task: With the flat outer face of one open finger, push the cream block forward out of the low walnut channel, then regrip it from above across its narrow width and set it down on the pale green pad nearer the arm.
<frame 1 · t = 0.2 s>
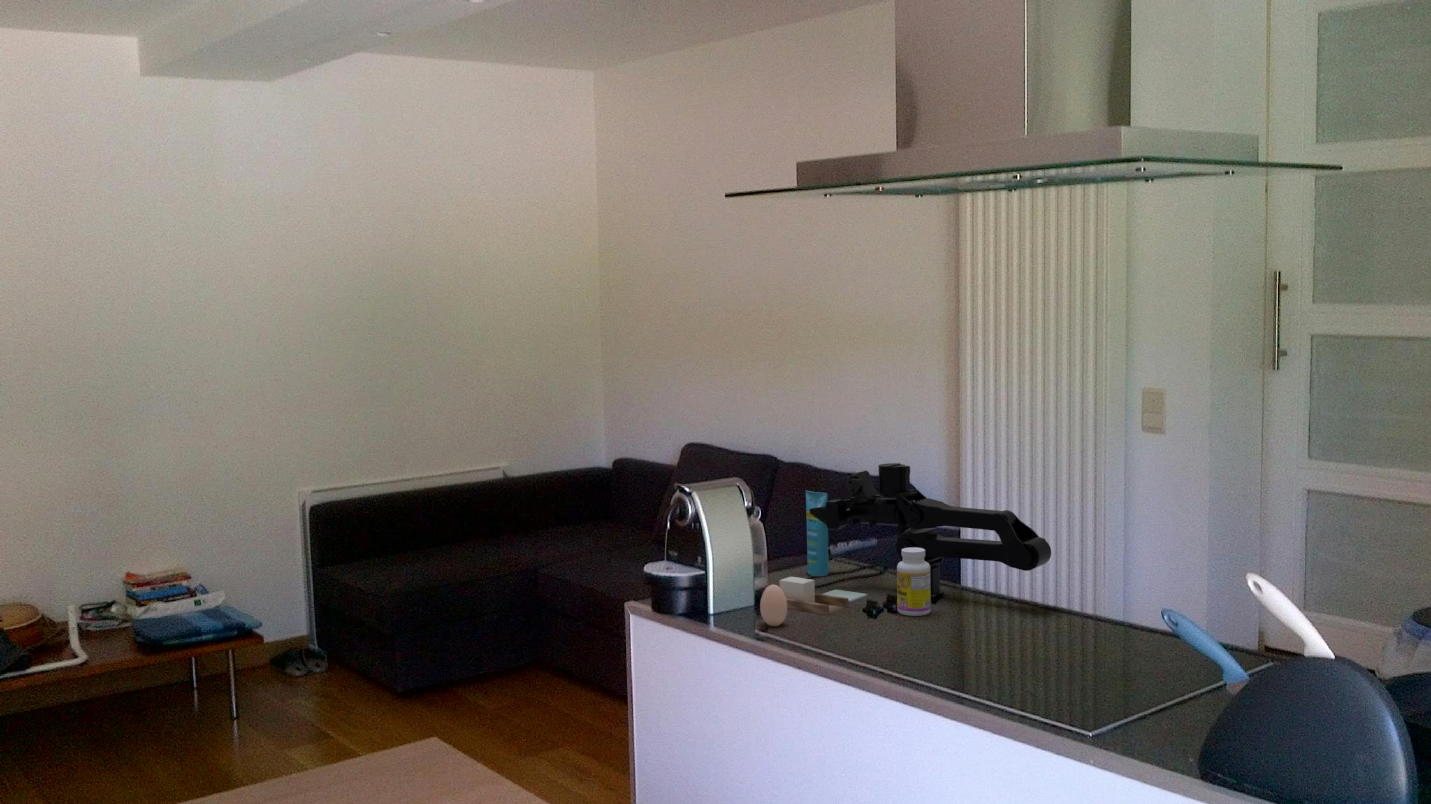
hand: (821, 507, 282), 17 cm above the counter, tool horizontal, fingers open, 9 cm apart
supplement bottle: (914, 613, 253), on the counter
pad: (840, 598, 266), on the counter
egg: (774, 627, 245), on the counter
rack: (809, 607, 259), on the counter
tube: (817, 575, 290), on the counter
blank: (797, 603, 261), resting on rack
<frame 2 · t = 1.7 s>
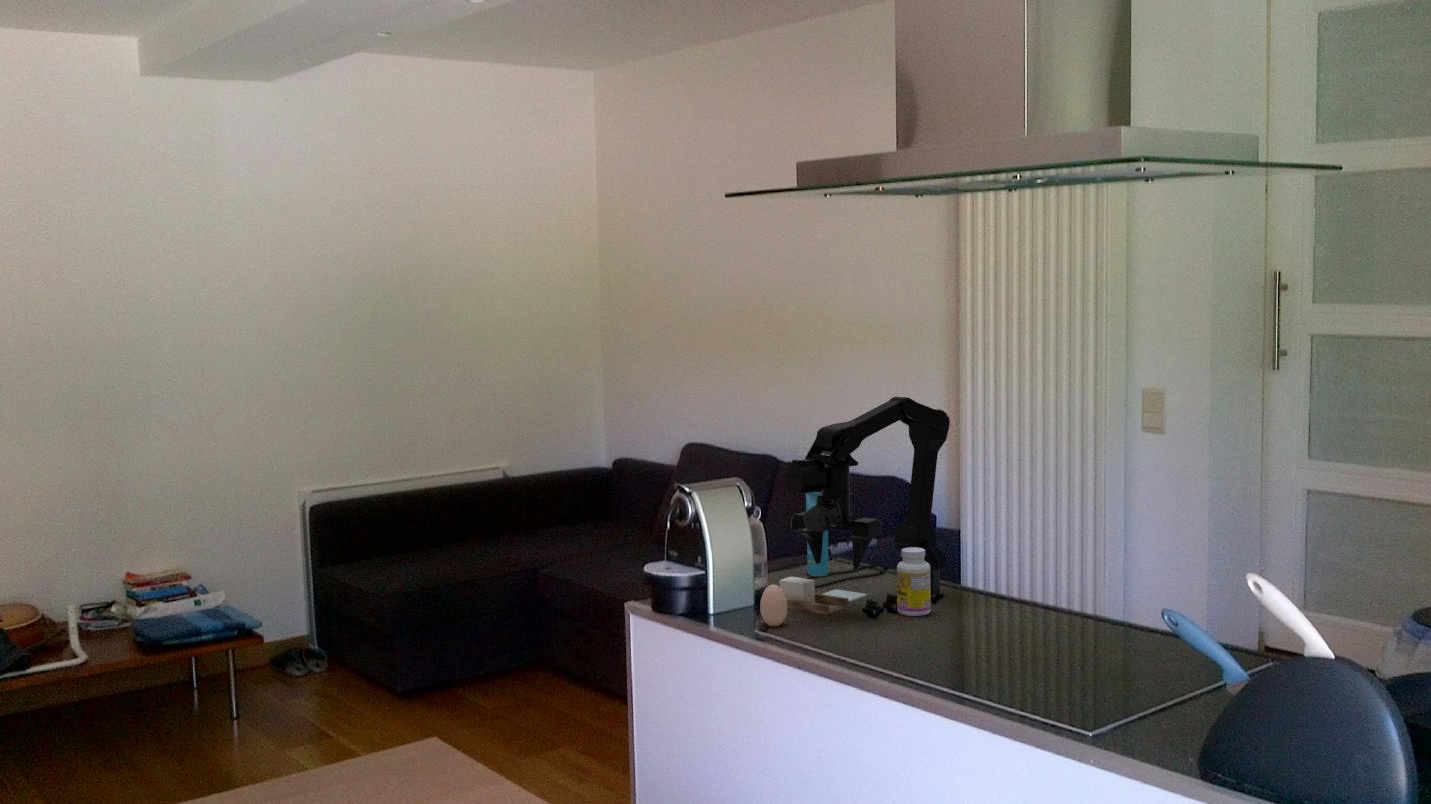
hand: (836, 566, 254), 9 cm above the counter, tool pointing down, fingers open, 9 cm apart
nothing on the counter moved.
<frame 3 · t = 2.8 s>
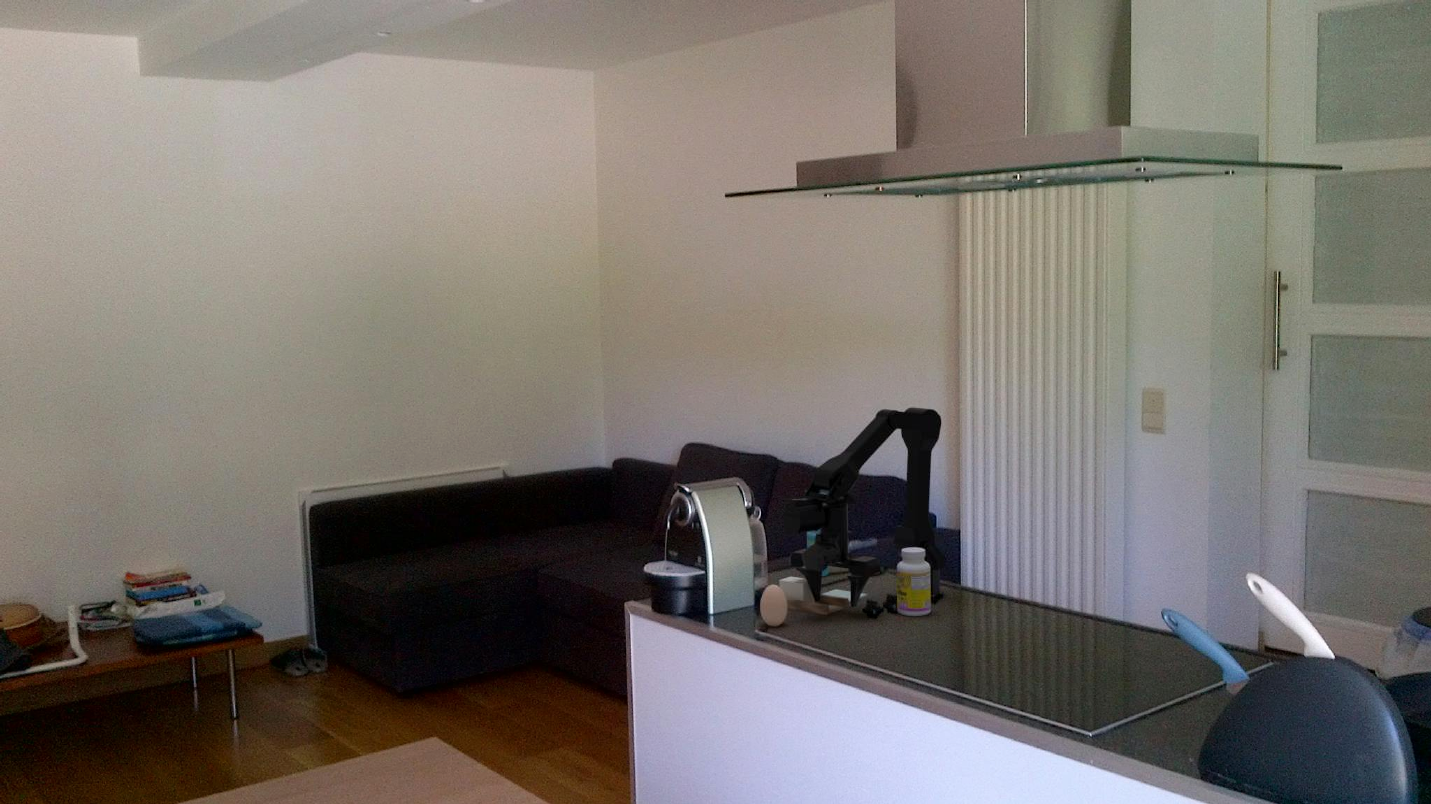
hand: (835, 604, 255), 2 cm above the counter, tool pointing down, fingers open, 8 cm apart
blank: (797, 603, 261), resting on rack, touching gripper
everything else where it was.
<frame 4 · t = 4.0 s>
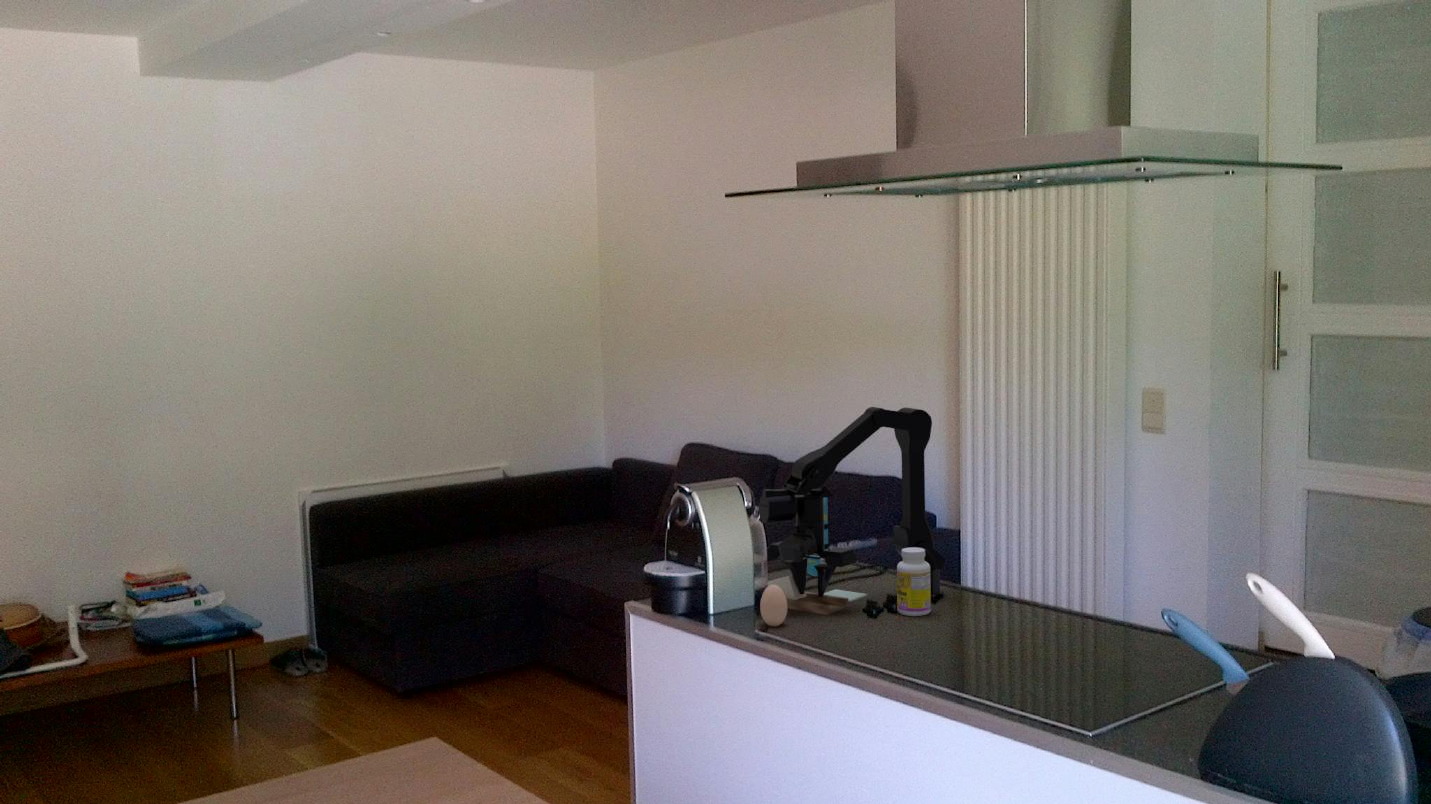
hand: (811, 595, 258), 3 cm above the counter, tool pointing down, fingers open, 4 cm apart
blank: (790, 600, 262), point 1 cm above the counter, tilted 18°, touching gripper
everything else where it was.
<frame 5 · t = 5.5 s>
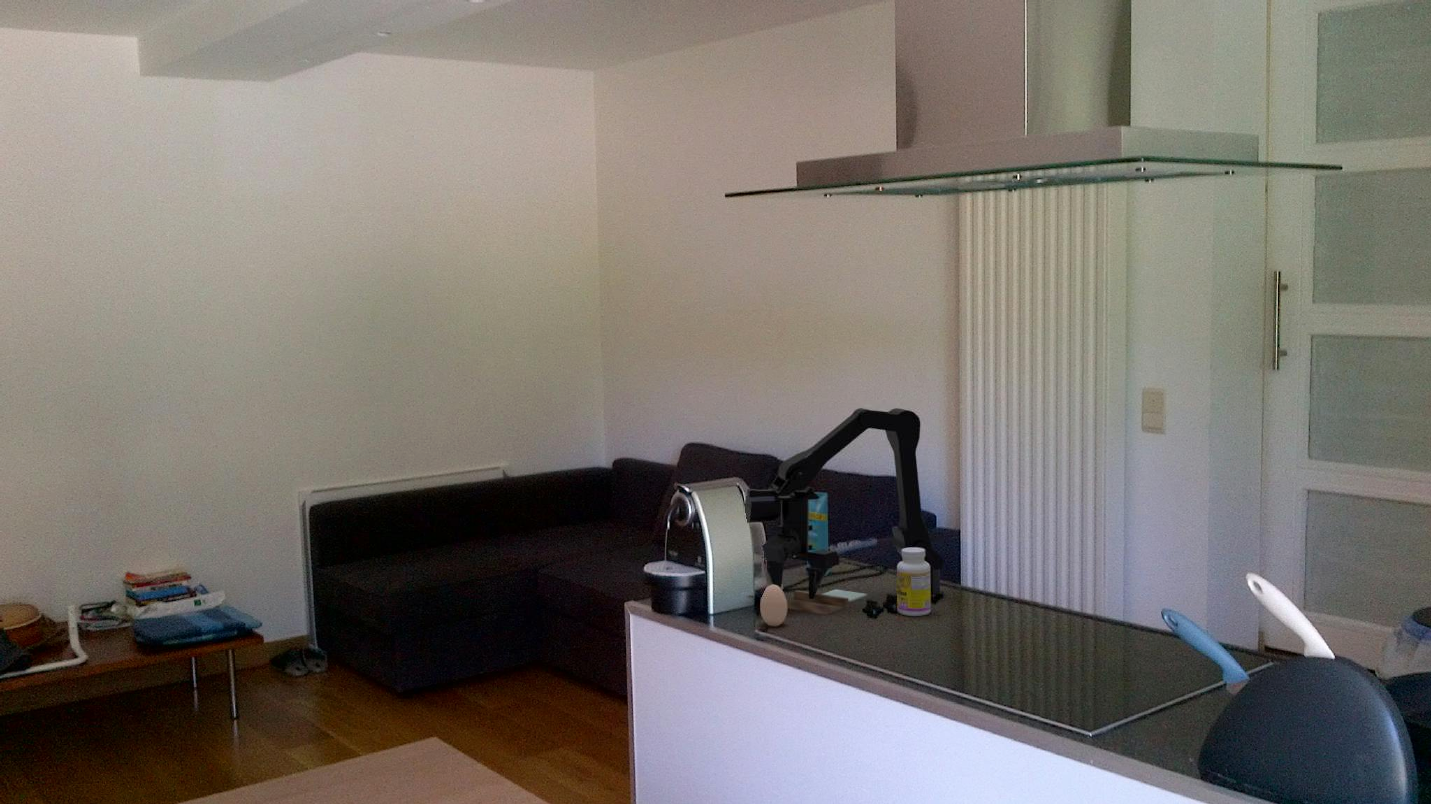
hand: (794, 595, 261), 2 cm above the counter, tool pointing down, fingers open, 8 cm apart
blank: (768, 593, 266), point 1 cm above the counter, tilted 27°, touching gripper
everything else where it was.
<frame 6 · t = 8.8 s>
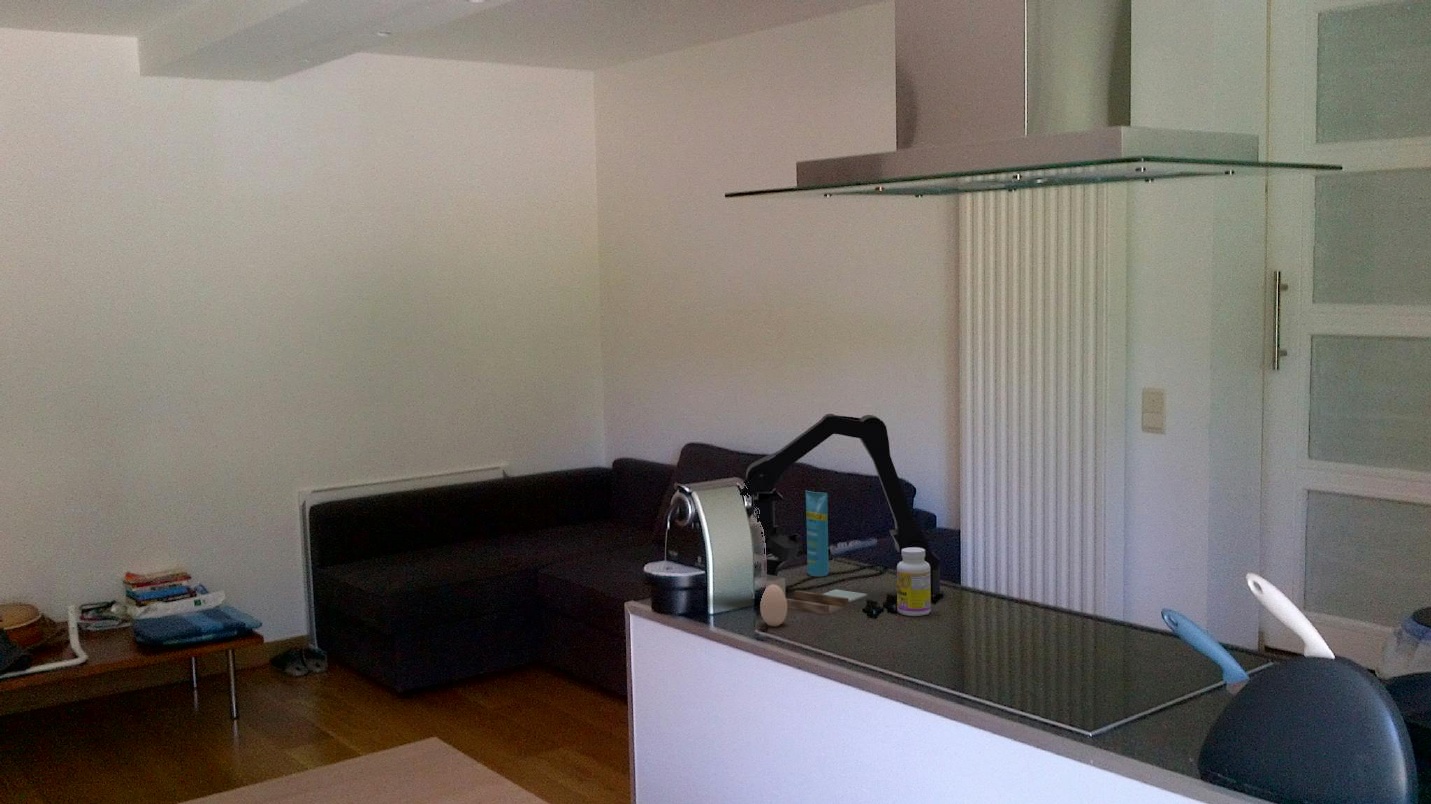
hand: (762, 594, 267), 1 cm above the counter, tool pointing down, fingers closed on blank, 4 cm apart
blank: (768, 601, 266), on the counter, touching gripper
everything else where it was.
when the fingers open (2 cm above the counter, at t = 12.7 s): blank stays where it is, resting on pad.
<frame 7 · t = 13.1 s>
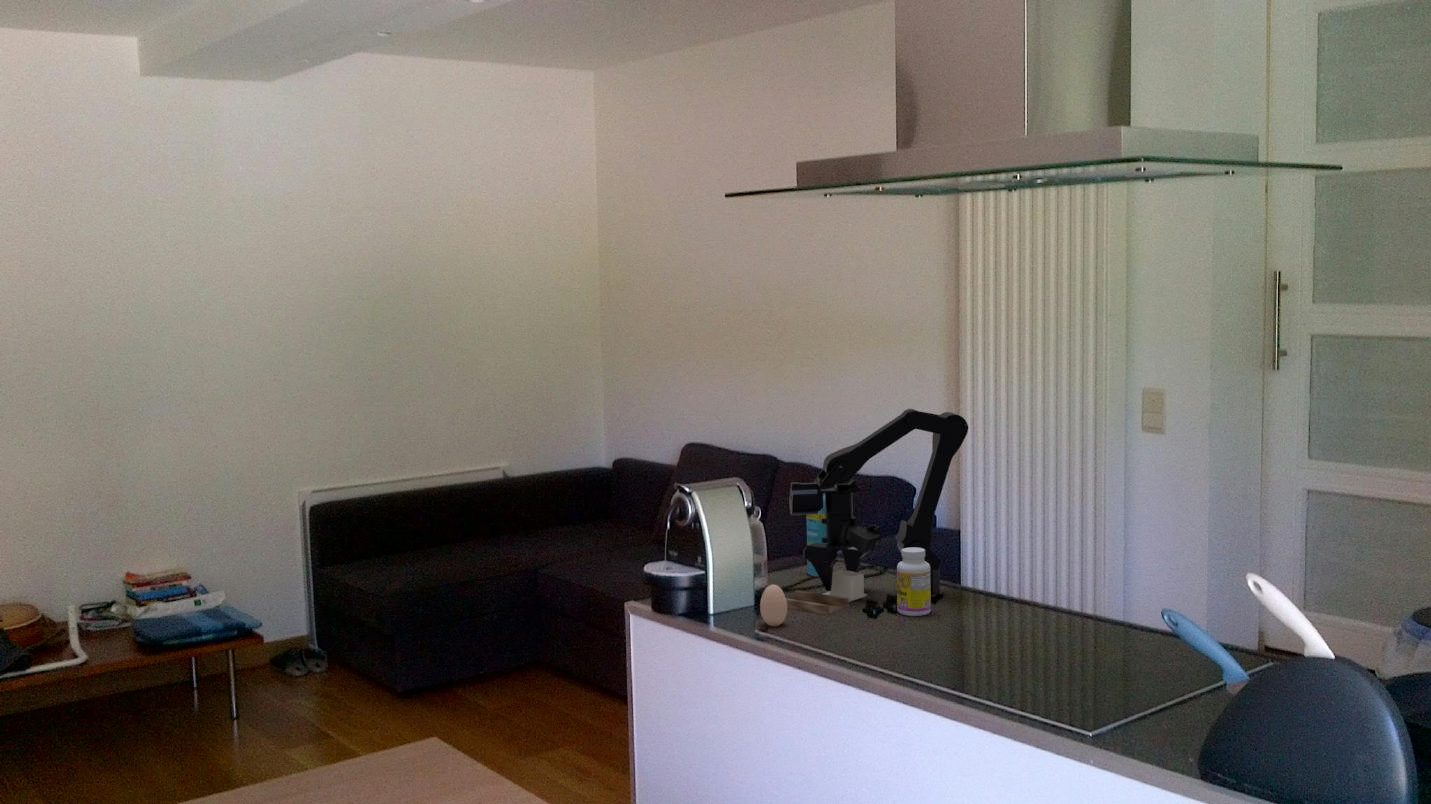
hand: (840, 586, 266), 2 cm above the counter, tool pointing down, fingers open, 9 cm apart
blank: (846, 596, 265), point 1 cm above the counter, touching pad
everything else where it was.
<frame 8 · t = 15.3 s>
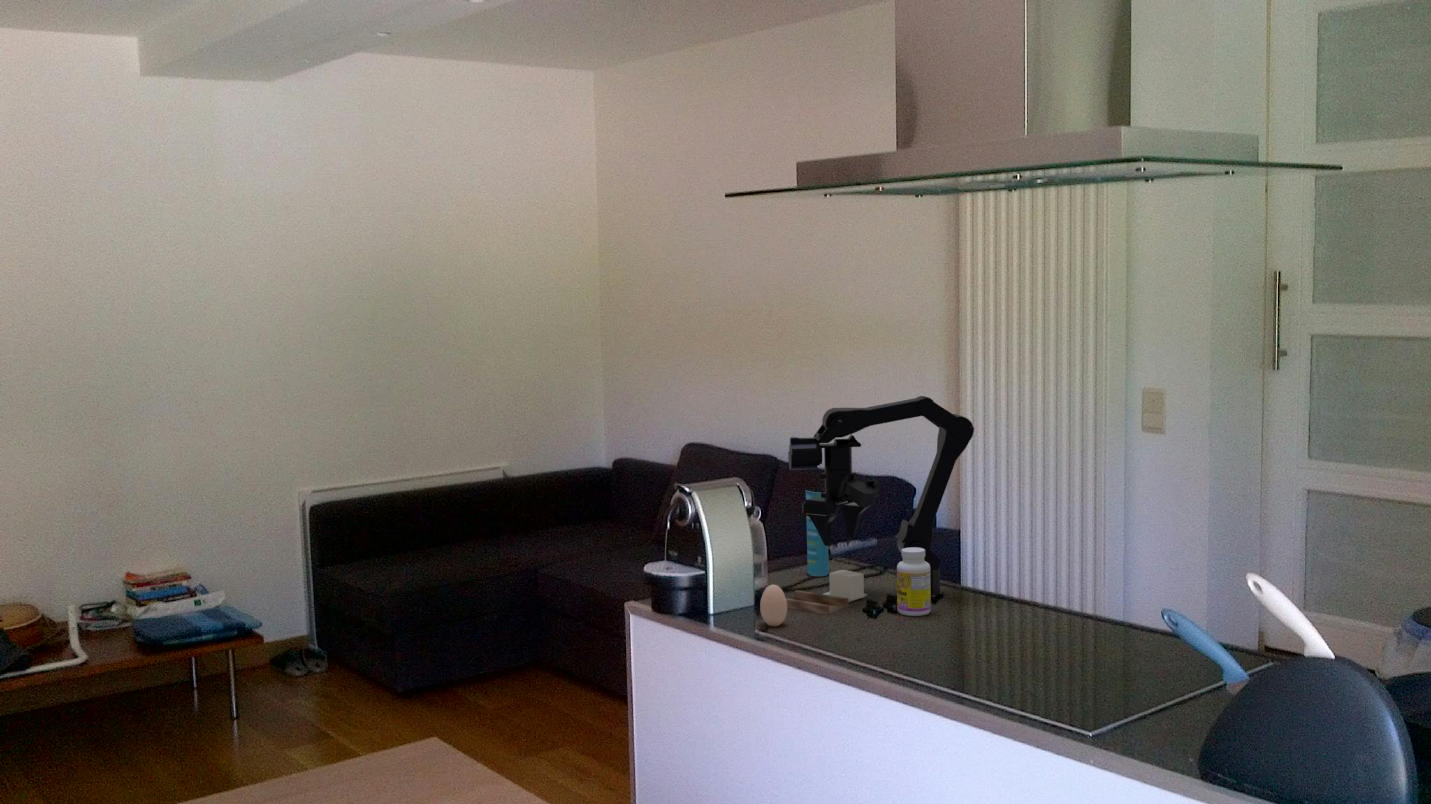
hand: (839, 542, 265), 12 cm above the counter, tool pointing down, fingers open, 9 cm apart
nothing on the counter moved.
at the end: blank inside the target area on the pad (1.7 cm from its centre), point 0.6 cm above the pad's base; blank tilted 0°; the gripper is holding nothing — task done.
